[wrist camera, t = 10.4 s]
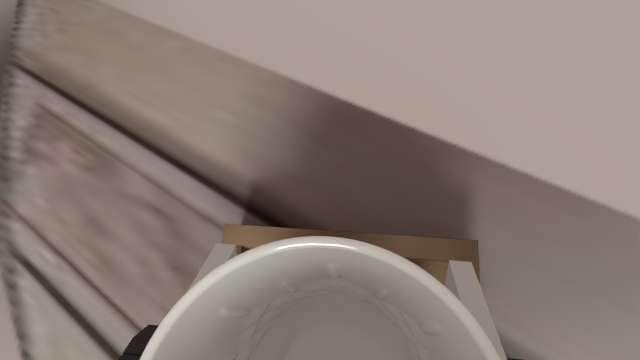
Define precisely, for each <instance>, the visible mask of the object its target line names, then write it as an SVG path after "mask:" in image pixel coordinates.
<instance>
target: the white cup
mask: <svg viewBox="0 0 640 360" xmlns="http://www.w3.org/2000/svg"><path fill="white" fill-rule="evenodd" d="M140 360H501V359H500V357H499V355H498V353H497V351H496V349H495V348H494V346H493V344H492V343H491V341H490V339H489V338H488V336H487V335H486V333H485V332H484V330H483V329H482V327H481V326H480V324H479V323H478V322H477V320H476V319H475V318H474V317H473V315H472V314H471V313H470V312H469V310H468V309H467V308H466V307H465V306H464V305H463V304H462V302H461V301H460V300H459V299H458V298H457V297H456V296H455V295H454V294H453V293H452V292H451V291H450V290H449V289H448V288H446V287H445V286H444V285H443V284H442V283H441V282H439V281H438V280H437V279H436V278H434V277H433V276H432V275H430V274H429V273H428V272H426V271H425V270H423V269H422V268H420V267H419V266H417V265H416V264H414V263H412V262H411V261H409V260H407V259H405V258H403V257H402V256H400V255H397V254H395V253H393V252H391V251H389V250H386V249H384V248H381V247H378V246H375V245H372V244H369V243H366V242H362V241H358V240H353V239H347V238H341V237H330V236H305V237H295V238H289V239H283V240H279V241H274V242H271V243H267V244H264V245H261V246H258V247H255V248H253V249H250V250H248V251H246V252H243V253H241V254H239V255H237V256H235V257H233V258H231V259H230V260H228V261H226V262H225V263H223V264H221V265H220V266H218V267H217V268H215V269H214V270H212V271H211V272H210V273H208V274H207V275H206V276H204V277H203V278H202V279H201V280H199V281H198V282H197V283H196V284H195V285H194V286H193V287H192V288H190V289H189V290H188V291H187V292H186V293H185V294H184V295H183V296H182V297H181V298H180V300H179V301H178V302H177V303H176V304H175V305H174V306H173V308H172V309H171V310H170V311H169V312H168V314H167V315H166V316H165V318H164V319H163V320H162V322H161V323H160V325H159V326H158V328H157V329H156V331H155V332H154V334H153V335H152V337H151V339H150V341H149V342H148V344H147V346H146V348H145V350H144V352H143V353H142V356H141V358H140Z"/></svg>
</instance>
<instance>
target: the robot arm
mask: <svg viewBox="0 0 640 360" xmlns="http://www.w3.org/2000/svg"><path fill="white" fill-rule="evenodd" d="M235 256H237V249H236V245H229V244H216V245H215V246H214V248H213V250H212V251H211V253H210V255H209V256H208V258H207V260H206V261H205V263H204V265H203V266H202V268H201V269H200V271H199V273H198V274H197V276H196V278H195V279H194V281H193V283H192V284H191V286H190V288H192V287H193V286H194V285H195V284H196V283H197V282H198V281H199V280H201V279H202V278H203V277H204V276H206V275H207V274H208V273H210V272H211V271H212V270H214V269H215V268H217V267H218V266H220V265H221V264H223V263H225V262H226V261H228V260H230V259H231V258H233V257H235ZM445 287H446V288H448V289H449V290H450V291H451V292H452V293H453V294H454V295H455V296H456V297H457V298H458V299H459V300H460V301H461V302H462V304H463V305H464V306H465V307H466V308H467V309H468V310H469V312H470V313H471V314H472V315H473V317H474V318H475V319H476V320H477V322H478V323H479V324H480V326H481V327H482V329H483V330H484V332H485V333H486V335H487V336H488V338H489V339H490V341H491V343H492V344H493V346H494V348H495V349H496V351H497V353H498V355H499V357H500V359H501V360H520V359H510V358H506V355H505V353H504V350H503V347H502V344H501V342H500V339H499V336H498V333H497V331H496V328H495V325H494V322H493V320H492V317H491V314H490V311H489V309H488V306H487V303H486V300H485V298H484V295H483V292H482V289H481V287H480V284H479V281H478V279H477V276H476V273H475V270H474V268H473V265H472V262H465V261H451V260H449V264H448V269H447V275H446V280H445ZM190 288H189V289H190ZM189 289H188V290H189ZM157 328H158V326H156V325H148V326H147V327H145V328H144V329H143V330H142V331H140V332H139V333H138V334H137V335H136V336H134V337H133V339H132V340H131V342H130V343H129V345H128V346H127V347H126V349H125V350H124V352H123V355H122V356H120V358H119V359H118V360H140V358H141V356H142V353H143V352H144V350H145V348H146V346H147V344H148V342H149V341H150V339H151V337H152V335H153V334H154V332H155V331H156V329H157Z"/></svg>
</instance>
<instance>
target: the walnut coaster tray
mask: <svg viewBox="0 0 640 360" xmlns="http://www.w3.org/2000/svg"><path fill="white" fill-rule="evenodd" d="M305 236H330V237H341V238H347V239H353V240H358V241H362V242H366V243H369V244H372V245H375V246H378V247H381V248H384V249H386V250H389V251H391V252H393V253H395V254H397V255H400V256H402V257H403V258H405V259H407V260H409V261H411V262H412V263H414V264H416V265H417V266H419V267H420V268H422V269H423V270H425V271H426V272H428V273H429V274H430V275H432V276H433V277H434V278H436V279H437V280H438V281H439V282H441V283H442V284H443V285H444V286H445V280H446V275H447V269H448V264H449V260H451V261H465V262H472V265H473V268H474V270H475V273H476V276H477V279H478V281H479V258H478V240H464V239H448V238H433V237H418V236H403V235H388V234H372V233H357V232H342V231H327V230H312V229H296V228H281V227H266V226H251V225H236V224H225V227H224V233H223V240H222V244H229V245H236V249H237V255H239V254H241V253H243V252H246V251H248V250H250V249H253V248H255V247H258V246H261V245H264V244H267V243H271V242H274V241H279V240H283V239H289V238H295V237H305ZM479 284H480V281H479Z"/></svg>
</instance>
